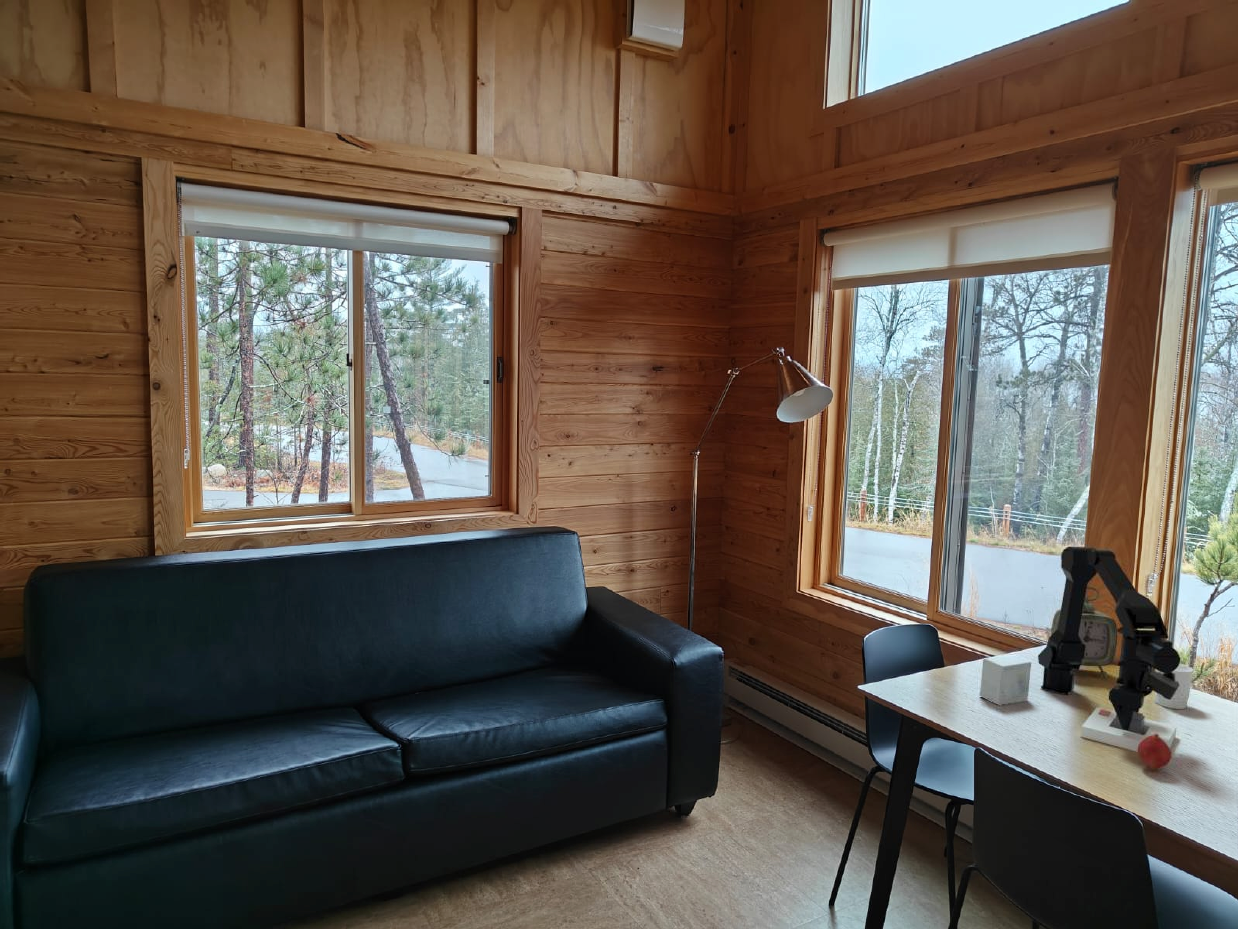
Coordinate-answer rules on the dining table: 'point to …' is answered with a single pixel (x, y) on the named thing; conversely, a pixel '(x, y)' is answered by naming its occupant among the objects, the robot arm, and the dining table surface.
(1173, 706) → the white cup
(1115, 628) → the tabletop clock
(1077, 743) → the dining table surface
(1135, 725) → the plug
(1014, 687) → the skincare box
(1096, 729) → the socket plate
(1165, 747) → the onion
